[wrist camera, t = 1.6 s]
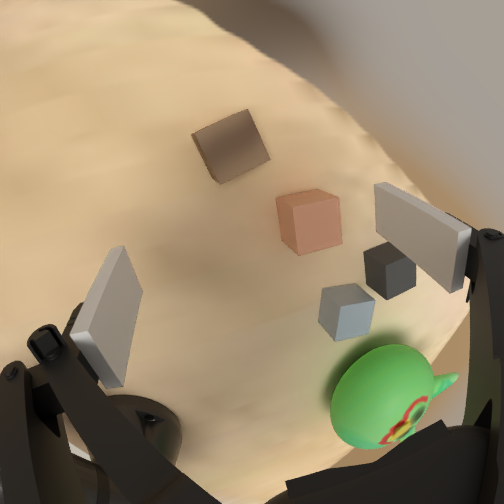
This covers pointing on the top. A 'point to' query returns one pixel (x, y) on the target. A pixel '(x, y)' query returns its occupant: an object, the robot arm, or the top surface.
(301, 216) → the terracotta cube
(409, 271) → the black rubber cube
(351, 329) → the slate grey cube
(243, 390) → the top surface
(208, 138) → the walnut cube
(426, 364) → the toy bird
